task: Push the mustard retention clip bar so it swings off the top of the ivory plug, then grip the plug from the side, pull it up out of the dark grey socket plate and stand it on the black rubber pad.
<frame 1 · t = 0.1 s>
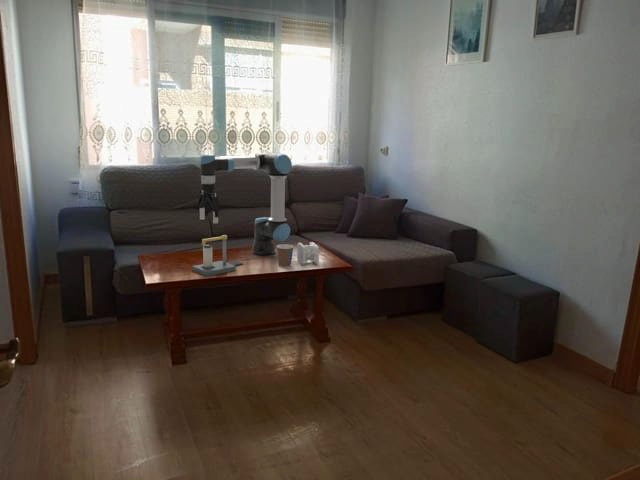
hand: (208, 221, 284), 28 cm above the table, tool pointing down, fingers open, 13 cm apart
cable organizer: (307, 262, 312), on the table
clip: (215, 240, 286), point 17 cm above the table, hinge at 0.0°
socket plate: (214, 270, 289), on the table
coffee cup: (284, 266, 303), on the table
pad: (233, 264, 303), on the table
plug: (208, 271, 286), resting in socket plate
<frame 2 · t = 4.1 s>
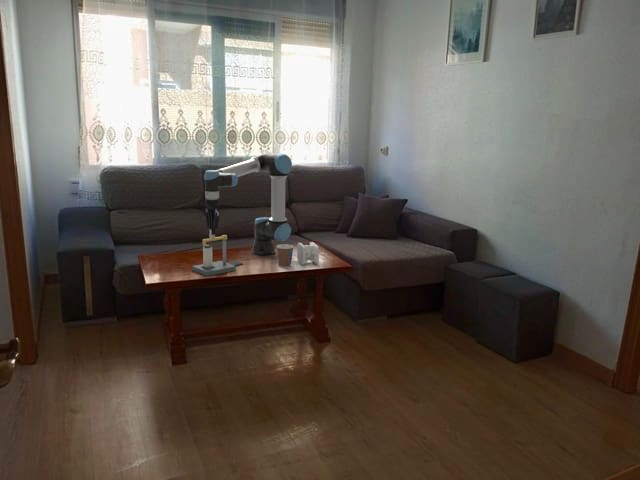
hand: (212, 240, 286), 17 cm above the table, tool pointing down, fingers closed
clip: (215, 240, 286), point 17 cm above the table, hinge at 2.2°, touching gripper
everything else where it was.
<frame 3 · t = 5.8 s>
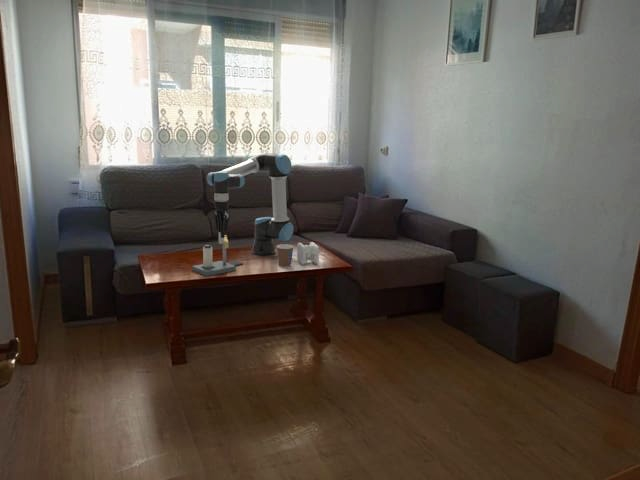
hand: (221, 243, 280), 17 cm above the table, tool pointing down, fingers closed
clip: (225, 241, 284), point 17 cm above the table, hinge at 61.5°, touching gripper
everything else where it was.
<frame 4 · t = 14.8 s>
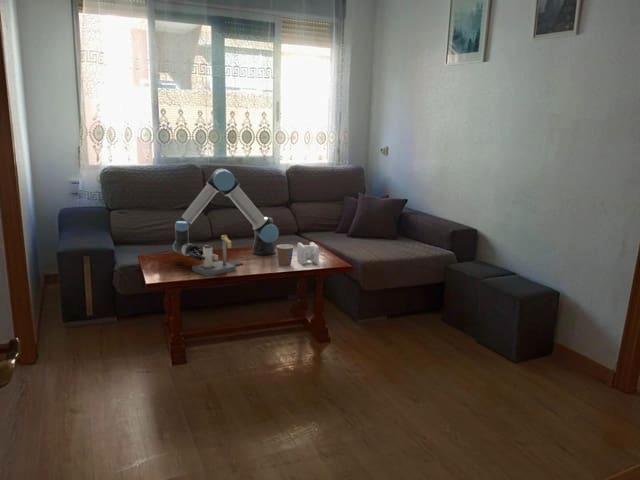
hand: (213, 258, 281), 9 cm above the table, tool horizontal, fingers closed on plug, 5 cm apart
clip: (226, 241, 285), point 17 cm above the table, hinge at 67.8°
plug: (208, 271, 286), resting in socket plate, touching gripper
everything else where it was.
when the fingers open (11 cm above the table, at t = 23.1 s): plug drops 1 cm, resting on pad.
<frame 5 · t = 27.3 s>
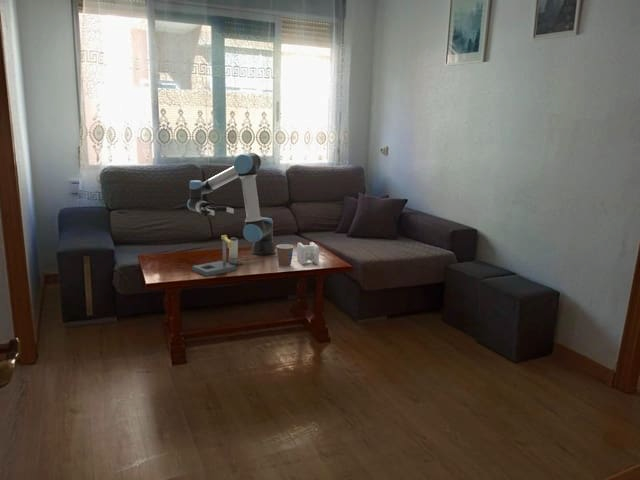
hand: (223, 212, 303), 30 cm above the table, tool horizontal, fingers open, 13 cm apart
plug: (233, 262, 303), point 1 cm above the table, touching pad
everything else where it was.
at the end: plug inside the target area on the pad (0.1 cm from its centre), point 0.9 cm above the pad's base; plug tilted 1°; clip at +68° (first picture: +0°) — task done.
